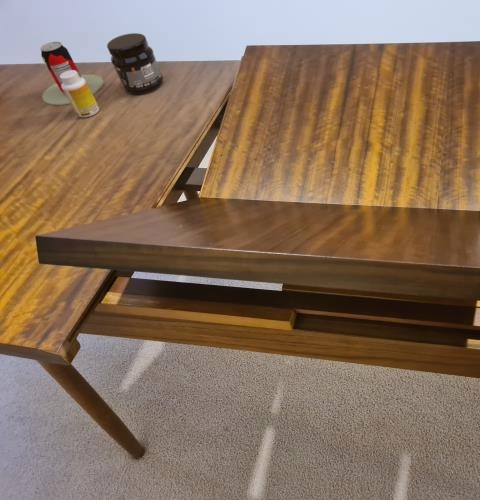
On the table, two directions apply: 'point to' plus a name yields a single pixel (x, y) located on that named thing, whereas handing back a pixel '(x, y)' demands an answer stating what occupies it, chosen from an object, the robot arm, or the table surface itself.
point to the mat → (59, 98)
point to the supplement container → (135, 63)
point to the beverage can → (57, 60)
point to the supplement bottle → (79, 94)
